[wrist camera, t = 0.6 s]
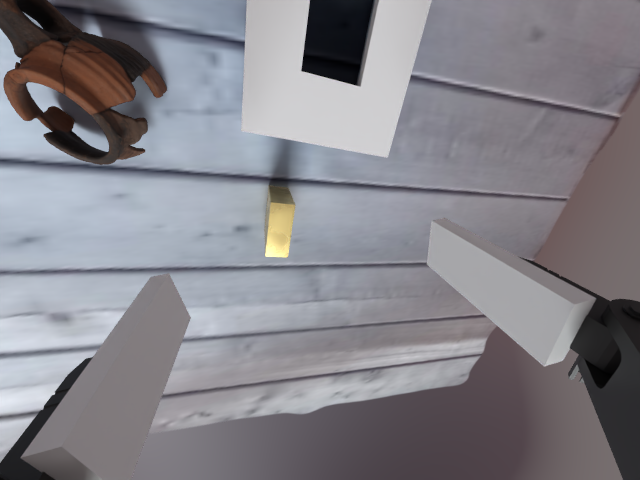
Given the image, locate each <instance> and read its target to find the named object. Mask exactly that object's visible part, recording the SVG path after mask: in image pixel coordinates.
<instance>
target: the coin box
mask: <svg viewBox="0 0 640 480" xmlns="http://www.w3.org/2000/svg"><path fill="white" fill-rule="evenodd" d="M431 1H432V0H373V5H372V10H371V15H370V19H369V24H368V29H367V34H366V39H365V44H364V49H363V53H362V58H361V63H360V68H359V73H358V78H357V83H356V85H352V84H348V83H344V82H341V81H337V80H333V79H329V78H325V77H322V76H318V75H314V74H310V73H306V72H303V71H301V69H302V61H303V52H304V44H305V36H306V28H307V20H308V12H309V4H310V0H247V10H246V34H245V57H244V80H243V104H242V127H241V131H244V132H250V133H255V134H260V135H266V136H271V137H277V138H282V139H288V140H293V141H299V142H304V143H310V144H315V145H321V146H326V147H332V148H337V149H343V150H348V151H354V152H359V153H365V154H370V155H376V156H381V157H387V158H388V154H389V151H390V147H391V144H392V140H393V137H394V133H395V129H396V126H397V122H398V119H399V115H400V112H401V108H402V104H403V101H404V97H405V94H406V90H407V87H408V83H409V79H410V76H411V72H412V69H413V65H414V62H415V58H416V55H417V51H418V47H419V44H420V40H421V37H422V33H423V30H424V26H425V22H426V19H427V15H428V12H429V8H430V5H431Z"/></svg>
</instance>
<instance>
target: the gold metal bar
mask: <svg viewBox="0 0 640 480" xmlns="http://www.w3.org/2000/svg"><path fill="white" fill-rule="evenodd" d="M294 210H295V203H294V201H293V198H292V196H291V193H290V191H289V189H288V188H286V187H278V186H270V185H269V187H268V198H267V208H266V219H265V230H264V231H265V256H269V257H288V252H289V245H290V238H291V231H292V224H293V217H294Z"/></svg>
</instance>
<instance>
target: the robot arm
mask: <svg viewBox="0 0 640 480" xmlns="http://www.w3.org/2000/svg"><path fill="white" fill-rule="evenodd" d="M427 265H428V266H429V267H431V268H432V269H433V270H434V271H435V272H436V273H438V274H439V275H440V276H441V277H442V278H443V279H444V280H446V281H447V282H448V283H449V284H450V285H451V286H452V287H454V288H455V289H456V290H457V291H458V292H459V293H460V294H462V295H463V296H464V297H465V298H466V299H467V300H469V301H470V302H471V303H472V304H473V305H474V306H475V307H477V308H478V309H479V310H480V311H481V312H482V313H483V314H485V315H486V316H487V317H488V318H489V319H490V320H491V321H493V322H494V323H495V324H496V325H497V326H498V327H500V328H501V329H502V330H503V331H504V332H505V333H506V334H508V335H509V336H510V337H511V338H512V339H513V340H515V341H516V342H517V343H518V344H519V345H520V346H522V347H523V348H524V349H525V350H526V351H527V352H528V353H529V354H531V355H532V356H533V357H534V358H535V359H536V360H537V361H539V362H540V363H541V364H542V365H543V366H547V365H550V364H553V363H557V362H560V361H563V360H564V358H565V356H566V354H567V352H568V351H569V349H570V348H571V349H572V350H574V351H575V352H576V353H578V354H579V356H578V357H577V359H576V361H575V363H574V364H573V366H572V368H571V370H570V371H569V373H568V375H569V379H572V380H573V379H574V378H575V376H576V374H577V373H578V372H580V373H581V375H582V377H581V379H580V382H582V383H585V385H586V388H587V390H588V393H589V395H590V398H591V400H592V403H593V405H594V408H595V410H596V413H597V415H598V418H599V420H600V423H601V425H602V428H603V430H604V433H605V435H606V438H607V440H608V443H609V445H610V448H611V450H612V452H613V455H614V458H615V460H616V463H617V465H618V468H619V470H620V473H621V475H622V478H623V480H640V302H638V301H633V300H626V299H616V300H612V301H609V300H607V299H605V298H603V297H601V296H599V295H597V294H595V293H593V292H591V291H589V290H588V289H585V288H583V287H581V286H579V285H578V284H576V283H574V282H572V281H570V280H568V279H566V278H564V277H562V276H561V277H560V276H559V274H557V273H554V272H553V271H551V270H549V271H548V270H547V268H545V267H543V266H541V265H539V264H537V263H535V262H533V261H530V260H527V259H524V258H521V257H518V256H516V255H514V254H512V253H510V252H508V251H506V250H504V249H502V248H500V247H499V246H497V245H495V244H493V243H491V242H489V241H487V240H485V239H483V238H482V237H480V236H478V235H476V234H474V233H472V232H470V231H468V230H466V229H465V228H463V227H461V226H459V225H457V224H455V223H453V222H451V221H450V220H448V219H446V218H442V219H437V220H433V221H432V223H431V232H430V241H429V250H428V259H427ZM189 321H190V316H189V314H188V311H187V309H186V307H185V305H184V303H183V301H182V299H181V297H180V295H179V293H178V291H177V289H176V287H175V285H174V283H173V281H172V279H171V277H170V275H169V273H168V274H163V275H158V276H153V277H151V278H150V279H149V280H148V282H147V283H146V284H145V286H144V287H143V289H142V290H141V291H140V293H139V294H138V296H137V297H136V298H135V300H134V301H133V302H132V304H131V305H130V307H129V308H128V309H127V311H126V312H125V314H124V315H123V316H122V318H121V319H120V320H119V322H118V323H117V325H116V326H115V327H114V329H113V330H112V332H111V333H110V334H109V336H108V337H107V338H106V340H105V341H104V343H103V344H102V345H101V347H100V348H99V350H98V351H97V352H96V354H95V355H94V356H93V357H92V358H87V359H85V360H84V361H83V362H82V363H81V364H80V365H78V366H77V367H76V368H75V369H74V370H73V371H72V372H71V373H70V374H68V376H67V377H66V378H65V379H64V381H63V382H62V383H61V385H60V386H59V387H58V389H57V390H56V391H55V395H52V396H51V398H50V399H49V400H48V402H47V403H46V404H45V405H44V409H43V410H41V411H40V412H39V413H38V415H37V416H36V417H35V418H34V420H33V421H32V422H31V424H30V425H29V426H28V428H27V429H26V430H25V431H24V433H23V434H22V435H21V437H20V438H19V439H18V441H17V442H16V443H15V444H14V446H13V447H12V448H11V450H10V451H9V452H8V453H7V455H6V456H5V457H4V459H3V460H2V461H1V463H0V480H131V478H132V475H133V473H134V470H135V467H136V464H137V462H138V459H139V456H140V454H141V451H142V448H143V446H144V443H145V440H146V437H147V435H148V432H149V429H150V427H151V424H152V421H153V418H154V416H155V413H156V410H157V408H158V405H159V402H160V400H161V397H162V394H163V391H164V389H165V386H166V383H167V381H168V378H169V375H170V372H171V370H172V367H173V364H174V362H175V359H176V356H177V353H178V351H179V348H180V345H181V343H182V340H183V337H184V335H185V332H186V329H187V326H188V324H189Z"/></svg>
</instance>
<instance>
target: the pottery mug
mask: <svg viewBox="0 0 640 480" xmlns="http://www.w3.org/2000/svg"><path fill="white" fill-rule="evenodd" d="M23 12H24V13H26V14H27V15H29V16H30V17H32V18H33V19H35V20H36V21H37V22H38V23H39V24H40V25H41V26H42V28H43V29H44V30H43V29H42V28H40V27H38V26H37V25H36V24H34V23H33V22H32V21H31V20H30V19H29V18H28V17H27V16H26V15H25V14H24V13H23ZM0 28H1V30H2V31H3V32H4V33H5V35H6V36H7V37H8V39H9V40H10V42H11V43H12V45H13V48H14V52H15V54H16V55H17V56H18V57H19V58H22V59H21V60H20V63H21V64H20V63H18V62H16V65H15V69H13V70H10V71H8V72H7V74H6V75H5V78H4V90H5V93H6V95H7V97H8V100H9V101H10V103H11V105H12V106H13V108H14V109H15V111H16V112H17V113H18V114H19V116H20V117H21V118H22V119H23V120H25V121H31V120H33V119H34V118H37V119H39V120H40V121H41V123H43V124H44V125H45V126H46V127H47V128H49V129H50V130H51V131H52V132H49V133H46V134H44V137H45V138H46V140H47V141H48V142H49V143H50V144H52V145H53V146H55V147H56V148H58V149H60V150H61V151H63V152H65V153H67V154H69V155H71V156H73V157H75V158H77V159H80V160H83V161H86V162H92V163H94V164H99V165H102V164H111V163H113V162H115V161H116V160H117V159H121V160H123V159H127V158H131V157H134V156H137V155H140V154H142V153H144V152H145V150H144V149H143V148H135V147H133V146H130V145H132V144H135V143H136V142H138V141H139V140H140V139H141V137H142V135H143V134H145V133H146V132H147V131H148V126H147V120H146V119H145V118H137V119H134V118H132V117H129V116H126V115H123V114H120V113H118V112H117V111H114V110H112V109H111V107H114V106H117V105H119V104H122V103H125V102H129V101H132V100H134V97H135V95H136V91H135V88H134V86H133V85H132V82H134V81H135V79H136V78H137V76H138V75H140V76H141V77H142V79H143V80H144V81H145V82H146V84H147V85H148V87H149V88H150V90H151V91H152V93H153V95H154V96H155V97H156V98H159V97H161V96H163V93H165V92H166V91H167V88H166V86H165V83H164V81H163V80H162V78H161V77H160V75H159V73H158V72H157V71H156V70H155V69H154V67H153V66H152V65H151V64H150V63H149V61H148V60H147V59H145V58H144V57H143V56H142V55H141V54H140V53H139V52H137V51H136V50H134V49H133V48H131V47H130V46H128V45H126V44H124V43H122V42H120V41H116V40H112V39H106V38H103V37H99V36H96V35H93V34H88V33H86V32H82V31H81V30H80V29H78V28H77V27H75V26H74V25H73V24H71V23H70V22H69V21H68V20H67V19H66V18H65V17H64V16H63V15H62V14H61V13H60V12H59V11H58V10H57V9H56V8H55V7H54V6H53V5H52V4H51V3H49V2H48V1H47V0H0ZM28 82H34V83H39V84H42V85H45V86H47V87H50V88H52V89H54V90H56V91H58V92H60V93H62V94H65V95H66V96H67V97H68V98H70V99H71V100H73V101H74V102H76V103H77V104H78V105H79V106H81V107H82V108H83V109H84V110H85V111H86V112H88V113H89V114H90V115H91V116H93V118H94V119H95V121H96V122H97V123H98V124H99V126H100V127H101V128H102V130H103V131H104V133H105V135H106V137H107V140H108V142H109V152H105V151H101V150H98V149H96V148H94V147H91V146H90V145H88V144H87V143H85V142H84V141H83V140H82V139H81V138H80V137H78V136H77V135H76V134H75V133H74V132H72V129H73V125H74V119H73V118H72V117H71V116H69V115H68V114H67V113H65V112H64V111H62V110H61V109H59V108H58V107H56V106H52V107H49V108H48V110H47V111H46V112H44V113H43V111H42V110H41V109H40V108H39V107H38V106H37V104H36V103H35V102H34V100H33V99H32V97H31V95H30V93H29V92H28V89H27V86H26V83H28Z"/></svg>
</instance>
